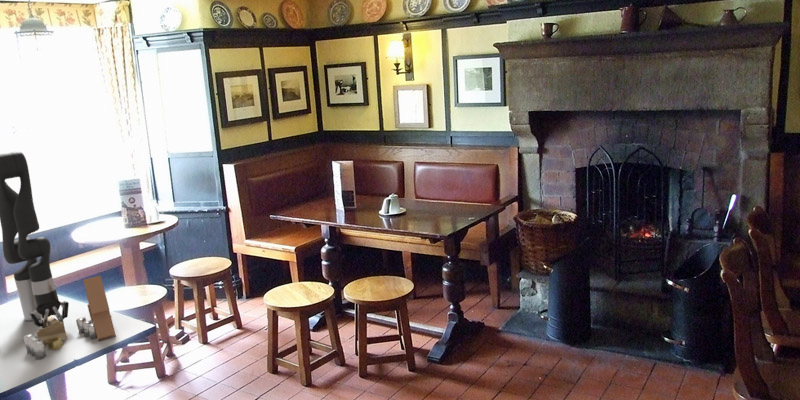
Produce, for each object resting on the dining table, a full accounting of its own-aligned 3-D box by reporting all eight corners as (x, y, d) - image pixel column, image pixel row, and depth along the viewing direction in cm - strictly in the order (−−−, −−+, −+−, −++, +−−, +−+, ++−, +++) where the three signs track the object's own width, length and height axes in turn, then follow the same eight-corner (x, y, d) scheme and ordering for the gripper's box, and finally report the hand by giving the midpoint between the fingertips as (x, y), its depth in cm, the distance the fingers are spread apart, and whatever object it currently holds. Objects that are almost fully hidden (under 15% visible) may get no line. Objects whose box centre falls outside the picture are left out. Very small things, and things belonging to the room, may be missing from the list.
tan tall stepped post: (100, 358, 251) (95, 335, 231) (87, 305, 260) (81, 278, 240) (120, 352, 255) (116, 329, 235) (106, 300, 264) (101, 273, 244)
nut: (46, 348, 235) (44, 340, 234) (60, 343, 238) (58, 335, 237) (51, 351, 232) (49, 343, 231) (65, 346, 235) (63, 338, 234)
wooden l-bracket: (28, 338, 246) (24, 323, 244) (53, 329, 252) (49, 315, 251) (41, 347, 236) (37, 331, 235) (67, 337, 243) (63, 322, 241)
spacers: (25, 351, 234) (21, 335, 233) (86, 328, 249) (82, 314, 248) (38, 360, 225) (34, 344, 223) (101, 336, 240) (97, 321, 238)
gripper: (60, 282, 251) (70, 323, 254) (20, 294, 241) (31, 337, 244) (68, 285, 246) (77, 327, 249) (27, 298, 236) (38, 341, 239)
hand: (54, 332), depth 247 cm, fingers open, 4 cm apart
